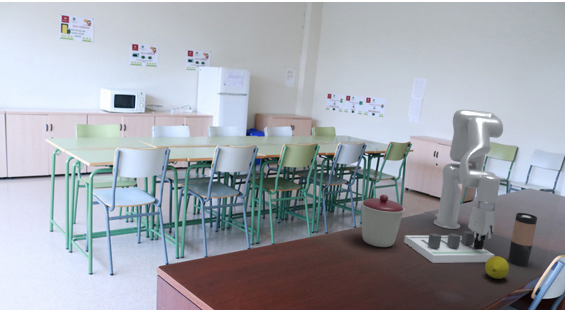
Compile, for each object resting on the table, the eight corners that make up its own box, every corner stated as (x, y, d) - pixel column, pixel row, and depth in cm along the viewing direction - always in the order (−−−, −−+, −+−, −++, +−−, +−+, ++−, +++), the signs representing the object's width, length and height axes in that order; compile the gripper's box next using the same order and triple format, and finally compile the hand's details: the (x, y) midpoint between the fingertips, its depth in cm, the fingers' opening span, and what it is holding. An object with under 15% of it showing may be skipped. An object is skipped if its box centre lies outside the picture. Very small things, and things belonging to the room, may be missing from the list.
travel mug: (526, 261, 187) (535, 214, 183) (530, 268, 179) (539, 219, 176) (506, 257, 189) (514, 211, 186) (508, 263, 182) (517, 216, 178)
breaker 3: (461, 242, 192) (462, 231, 191) (468, 242, 193) (470, 231, 192) (465, 245, 189) (467, 233, 188) (472, 245, 190) (474, 233, 189)
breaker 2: (446, 245, 187) (448, 233, 186) (454, 245, 187) (456, 233, 187) (451, 248, 184) (453, 236, 183) (458, 248, 185) (460, 236, 184)
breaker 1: (427, 245, 184) (429, 233, 183) (435, 245, 185) (437, 233, 184) (431, 248, 181) (433, 236, 181) (439, 248, 182) (441, 236, 181)
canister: (367, 232, 204) (373, 187, 200) (405, 244, 194) (412, 196, 190) (348, 242, 189) (355, 193, 186) (389, 254, 179) (396, 203, 176)
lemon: (489, 270, 172) (493, 250, 171) (511, 278, 167) (515, 258, 166) (477, 277, 165) (481, 256, 164) (499, 285, 160) (503, 264, 158)
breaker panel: (403, 242, 196) (404, 235, 195) (459, 242, 203) (460, 235, 203) (432, 262, 175) (433, 255, 174) (493, 261, 182) (494, 254, 182)
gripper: (465, 200, 187) (458, 242, 190) (490, 210, 173) (482, 256, 176) (480, 200, 189) (473, 242, 192) (506, 211, 175) (498, 255, 178)
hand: (477, 248), depth 184 cm, fingers closed
